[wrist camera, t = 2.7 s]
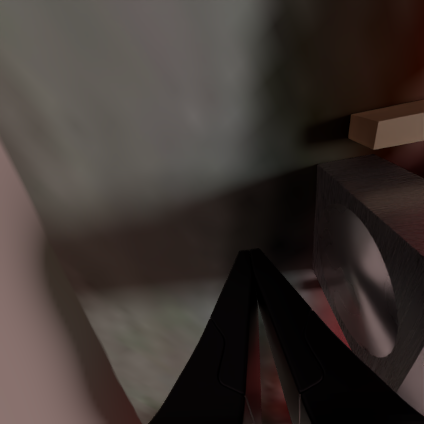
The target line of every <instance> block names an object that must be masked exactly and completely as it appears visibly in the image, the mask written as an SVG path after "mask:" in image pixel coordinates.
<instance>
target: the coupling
mask: <svg viewBox="0 0 424 424" xmlns="http://www.w3.org/2000/svg"><path fill="white" fill-rule="evenodd" d="M312 269H313V271H314V273H315V275H316V277H317V279H318V281H319V283H320V286H321V288H322V290H323V292H324V294H325V296H326V298H327V300H328V302H329V304H330V306H331V308H332V311H333V313H334V315H335V317H336V319H337V321H338V323H339V325H340V327H341V329H342V331H343V333H344V336H345V338H346V340H347V342H348V344H349V346H350V348H351V350H352V352H353V353H354V354H355V355H356V356H358V357H359V358H360V359H361V360H362V361H363V362H364V363H365V364H366V365H367V366H368V367H369V368H370V369H371V370H372V371H373V372H374V373H375V374H377V375H378V376H379V377H380V378H381V379H382V380H383V381H384V382H385V383H386V384H387V385H388V386H389V387H390V388H391V389H392V390H393V391H395V392H396V393H397V394H398V395H399V396H400V397H401V398H402V399H403V400H404V401H406V402H407V403H408V404H409V405H410V406H411V407H413V408H414V409H415V410H417V411H418V412H419V413H420V414H422V415H424V178H422V177H420V176H418V175H416V174H414V173H412V172H410V171H408V170H406V169H403V168H401V167H399V166H397V165H395V164H393V163H391V162H389V161H387V160H385V159H383V158H381V157H378V156H376V155H374V154H371V155H366V156H360V157H355V158H349V159H343V160H338V161H332V162H327V163H321V164H317V184H316V204H315V224H314V244H313V265H312Z"/></svg>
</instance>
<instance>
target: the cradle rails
mask: <svg viewBox="0 0 424 424" xmlns="http://www.w3.org/2000/svg"><path fill="white" fill-rule="evenodd" d="M348 138H349V139H351V140H353V141H355V142H358V143H360V144H362V145H364V146H366V147H369V148H371V149H373V150H375V149H380V148H386V147H391V146H397V145H402V144H408V143H413V142H419V141H424V100H419V101H414V102H409V103H404V104H399V105H395V106H390V107H385V108H380V109H375V110H370V111H366V112H361V113H356V114H351V119H350V127H349V136H348Z"/></svg>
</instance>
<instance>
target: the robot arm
mask: <svg viewBox="0 0 424 424" xmlns="http://www.w3.org/2000/svg"><path fill="white" fill-rule="evenodd" d="M252 269H253V270H252ZM255 288H256V289H255ZM256 294H257V295H256ZM257 300H258V302H257ZM258 305H259V309H260V312H261V316H262V319H263V323H264V326H265V330H266V333H267V337H268V340H269V344H270V347H271V351H272V354H273V358H274V361H275V365H276V368H277V372H278V375H279V379H280V382H281V386H282V389H283V393H284V396H285V400H286V403H287V407H288V410H289V414H290V417H291V421H292V424H424V416H423V415H422V414H420V413H419V412H418V411H417V410H415V409H414V408H413V407H411V406H410V405H409V404H408V403H407V402H406V401H404V400H403V399H402V398H401V397H400V396H399V395H398V394H397V393H396V392H395V391H393V390H392V389H391V388H390V387H389V386H388V385H387V384H386V383H385V382H384V381H383V380H382V379H381V378H380V377H379V376H378V375H377V374H375V373H374V372H373V371H372V370H371V369H370V368H369V367H368V366H367V365H366V364H365V363H364V362H363V361H362V360H361V359H360V358H359V357H358V356H356V355H355V354H354V353H353V352H352V351H351V350H350V349H349V348H348V347H347V346H346V345H345V344H344V343H343V342H342V341H341V340H340V339H339V338H338V337H337V336H336V335H335V334H334V333H333V332H332V331H331V330H330V329H329V328H328V326H327V325H326V324H325V323H324V322H323V321H322V320H321V319H320V318H319V316H318V315H317V314H316V313H315V312H314V311H312V308H311V307H310V306H309V305H308V304H307V303H306V302H305V300H304V299H303V298H302V297H301V296H300V295H299V293H298V292H297V291H296V290H295V289H294V288H293V287H292V285H291V284H290V283H289V282H288V281H287V280H286V278H285V277H284V276H283V275H282V274H281V273H280V272H279V270H278V269H277V268H276V267H275V266H274V265H273V263H272V262H271V261H270V260H269V259H268V258H267V257H266V255H265V254H264V253H263V252H262V251H261V250H260V249H259V248H257V249H251V250H250V251H249V250H242V251H239V253H238V255H237V258H236V260H235V262H234V264H233V267H232V269H231V271H230V273H229V276H228V278H227V280H226V283H225V285H224V287H223V289H222V292H221V294H220V296H219V298H218V301H217V303H216V305H215V308H214V310H213V312H212V314H211V317H210V318H211V319H209V321H208V323H207V326H206V328H205V330H204V332H203V334H202V336H201V338H200V340H199V343H198V344H197V346H196V348H195V350H194V352H193V354H192V355H191V357H190V359H189V361H188V362H187V364H186V366H185V368H184V369H183V371H182V373H181V374H180V376H179V378H178V380H177V381H176V383H175V385H174V386H173V388H172V390H171V392H170V393H169V395H168V397H167V398H166V400H165V402H164V403H163V405H162V406H161V408H160V409H159V411H158V412H157V413H156V415H155V416H154V417H153V419H152V420H151V421H150V422H149V423H148V424H262V413H261V384H260V354H259V325H258Z"/></svg>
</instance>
